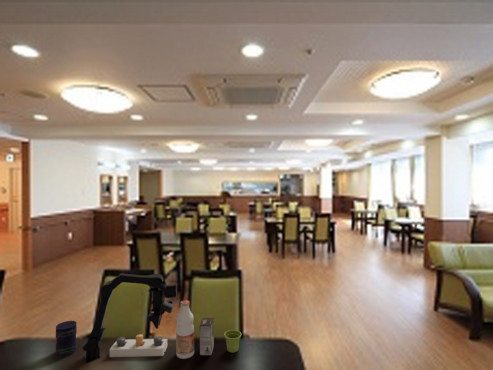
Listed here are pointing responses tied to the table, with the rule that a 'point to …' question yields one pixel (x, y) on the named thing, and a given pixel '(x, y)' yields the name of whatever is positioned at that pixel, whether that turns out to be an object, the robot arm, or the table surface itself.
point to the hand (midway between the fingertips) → (157, 327)
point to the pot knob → (139, 340)
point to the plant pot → (232, 340)
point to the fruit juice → (184, 332)
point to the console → (138, 348)
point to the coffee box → (206, 336)
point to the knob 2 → (157, 341)
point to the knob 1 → (120, 342)
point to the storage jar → (66, 338)
